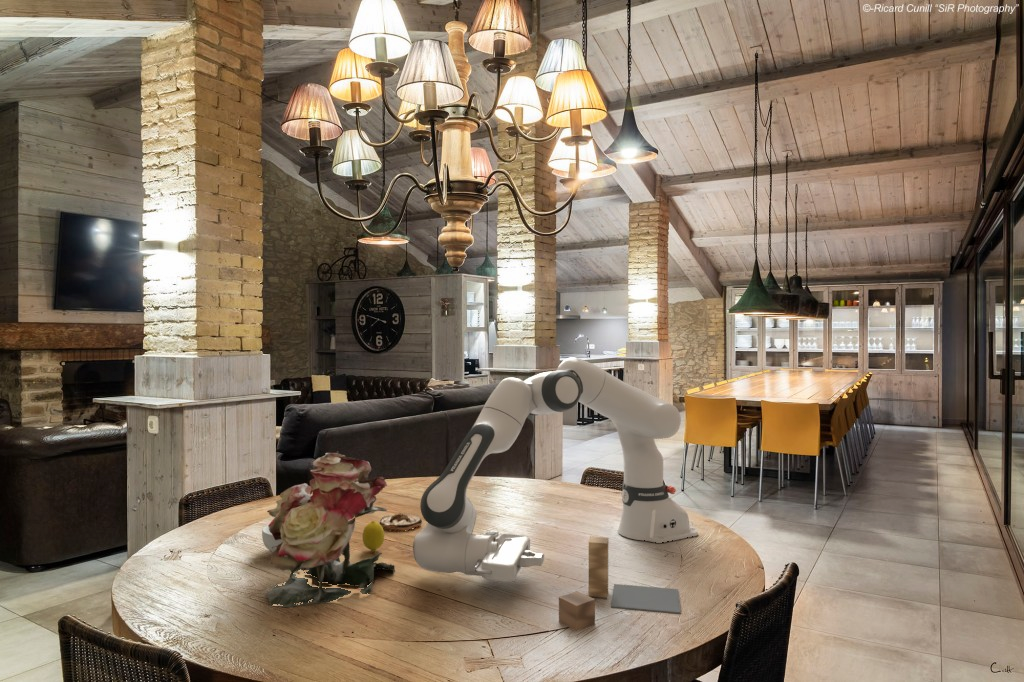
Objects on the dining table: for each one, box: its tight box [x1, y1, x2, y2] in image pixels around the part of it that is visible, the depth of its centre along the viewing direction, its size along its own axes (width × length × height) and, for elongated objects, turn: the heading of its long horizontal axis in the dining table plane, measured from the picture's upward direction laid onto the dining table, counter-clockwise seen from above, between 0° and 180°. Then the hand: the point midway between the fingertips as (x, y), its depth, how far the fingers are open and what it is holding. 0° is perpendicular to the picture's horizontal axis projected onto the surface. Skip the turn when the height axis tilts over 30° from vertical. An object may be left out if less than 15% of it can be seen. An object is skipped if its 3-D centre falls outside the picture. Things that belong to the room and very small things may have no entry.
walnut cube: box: [558, 590, 596, 632], centre depth 124 cm, size 5×5×5 cm
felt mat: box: [610, 583, 682, 615], centre depth 135 cm, size 14×12×1 cm
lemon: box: [362, 520, 385, 552], centre depth 165 cm, size 6×6×8 cm
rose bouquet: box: [265, 452, 396, 608], centre depth 142 cm, size 26×29×30 cm
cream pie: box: [379, 512, 423, 532], centre depth 188 cm, size 15×15×4 cm
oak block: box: [587, 535, 609, 600], centre depth 137 cm, size 4×4×12 cm
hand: (543, 559), depth 140 cm, fingers closed
